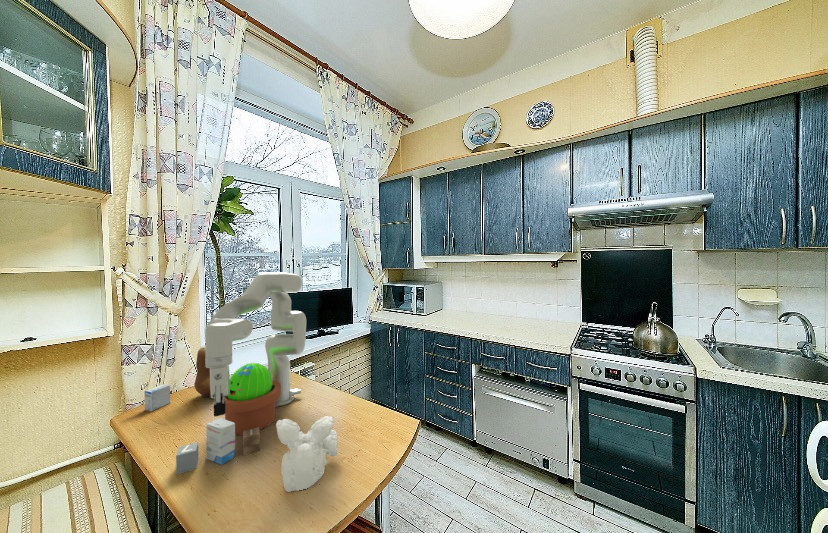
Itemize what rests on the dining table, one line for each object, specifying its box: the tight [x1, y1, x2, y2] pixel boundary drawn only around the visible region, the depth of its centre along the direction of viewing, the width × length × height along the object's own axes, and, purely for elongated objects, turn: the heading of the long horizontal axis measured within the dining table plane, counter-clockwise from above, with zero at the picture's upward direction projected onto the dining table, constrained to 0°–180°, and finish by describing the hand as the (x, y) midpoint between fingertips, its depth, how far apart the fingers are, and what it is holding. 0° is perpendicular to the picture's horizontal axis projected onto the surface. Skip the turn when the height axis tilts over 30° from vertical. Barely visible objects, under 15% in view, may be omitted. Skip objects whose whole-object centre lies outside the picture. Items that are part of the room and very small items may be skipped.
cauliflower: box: [275, 415, 338, 493], centre depth 93 cm, size 19×20×20 cm
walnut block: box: [242, 427, 261, 456], centre depth 104 cm, size 5×5×6 cm
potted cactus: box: [224, 362, 281, 436], centre depth 120 cm, size 22×22×25 cm
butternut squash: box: [194, 344, 211, 399], centre depth 145 cm, size 14×13×25 cm
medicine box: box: [144, 383, 171, 412], centre depth 134 cm, size 8×4×9 cm, turn 164°
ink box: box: [205, 417, 236, 466], centre depth 99 cm, size 9×5×12 cm, turn 65°
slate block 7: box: [175, 441, 200, 475], centre depth 95 cm, size 5×5×6 cm
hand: (219, 414), depth 99 cm, fingers closed
